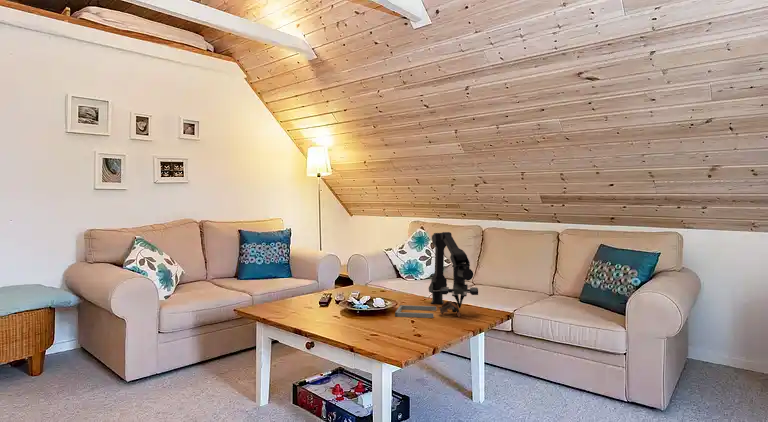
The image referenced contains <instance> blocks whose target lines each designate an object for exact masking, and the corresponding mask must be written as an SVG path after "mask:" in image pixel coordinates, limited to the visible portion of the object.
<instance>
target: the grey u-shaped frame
mask: <svg viewBox="0 0 768 422" xmlns="http://www.w3.org/2000/svg"><path fill="white" fill-rule="evenodd" d="M403 310H405V311H406V310H408V311H411V310H412V311H433V312H435V311H437V306H436V305H433V306H432V305H411V304H410V305H408V304H405V305H404V304H403V305H402V304H400V305H399V306H398V308H396V310H395V312H394V317H395V318H396V317H397V318H399V317H400V318H426V319H427V318H428V319H434V316H435V315H434V313H433V312H428V313H427V312H404V311H403ZM402 311H403V312H402Z"/></svg>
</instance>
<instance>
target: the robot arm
mask: <svg viewBox="0 0 768 422" xmlns="http://www.w3.org/2000/svg"><path fill="white" fill-rule="evenodd" d="M431 241H432V242H431V243H432V245H433V246H434V250H435V251H434V252H435V253H434V274H433V276H432V277H431V282H430V284H429V286H428V292H429V293H431V294H432V296H431V298H432V299H431V302H430V304H432V305H443V304H444V303H445V302H444V300H443V296H444V295H445V296H447V295H448V294H449V293H451V296H452V297H454V298H455V302H456V303H457V305H458V309H461V307H462V303H463V300H464V298H466V297H467V295H468V294H470V295H471V296H479V288H478V287H476V286H475V287H472V286H471V287H470V288H468V287H469V286H468V284H466V281H471V280H472V279H473V278H474V272H473V270H472V269H471V264H470V259H469V258H468V255H467V254H466V252H465V251H464V250H463V249H461V248H460V247H459V246H458V245H457V243H456V241H455V240H454V237H453V235H452V232H450V231H443V232H434V233H433V234H432V235H431ZM446 248H447V249H448V252H449V254H450V256H449V258H450V261H451V263H452V265H451V267H452V270H453V271H452V272H453V274H452V275H453V277H452V278H453V285H452V286H453V287H452V288H449V286H448V283H447V278H446V277H445V275H444V264H445V263H444V262H445V249H446ZM459 295H460V297H459Z"/></svg>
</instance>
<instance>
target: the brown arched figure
mask: <svg viewBox="0 0 768 422" xmlns="http://www.w3.org/2000/svg"><path fill="white" fill-rule="evenodd" d="M438 309H439V311H440V312H439V313H440V315H442V316H443V315H444V313H448V310H451V311H452V313H456V315H457V317H458V318H459V317H461V311H460V308H459V307H458V304H457V301H452V300H448V301H446V302H443V304H441V305H440V307H439V308H438Z"/></svg>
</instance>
